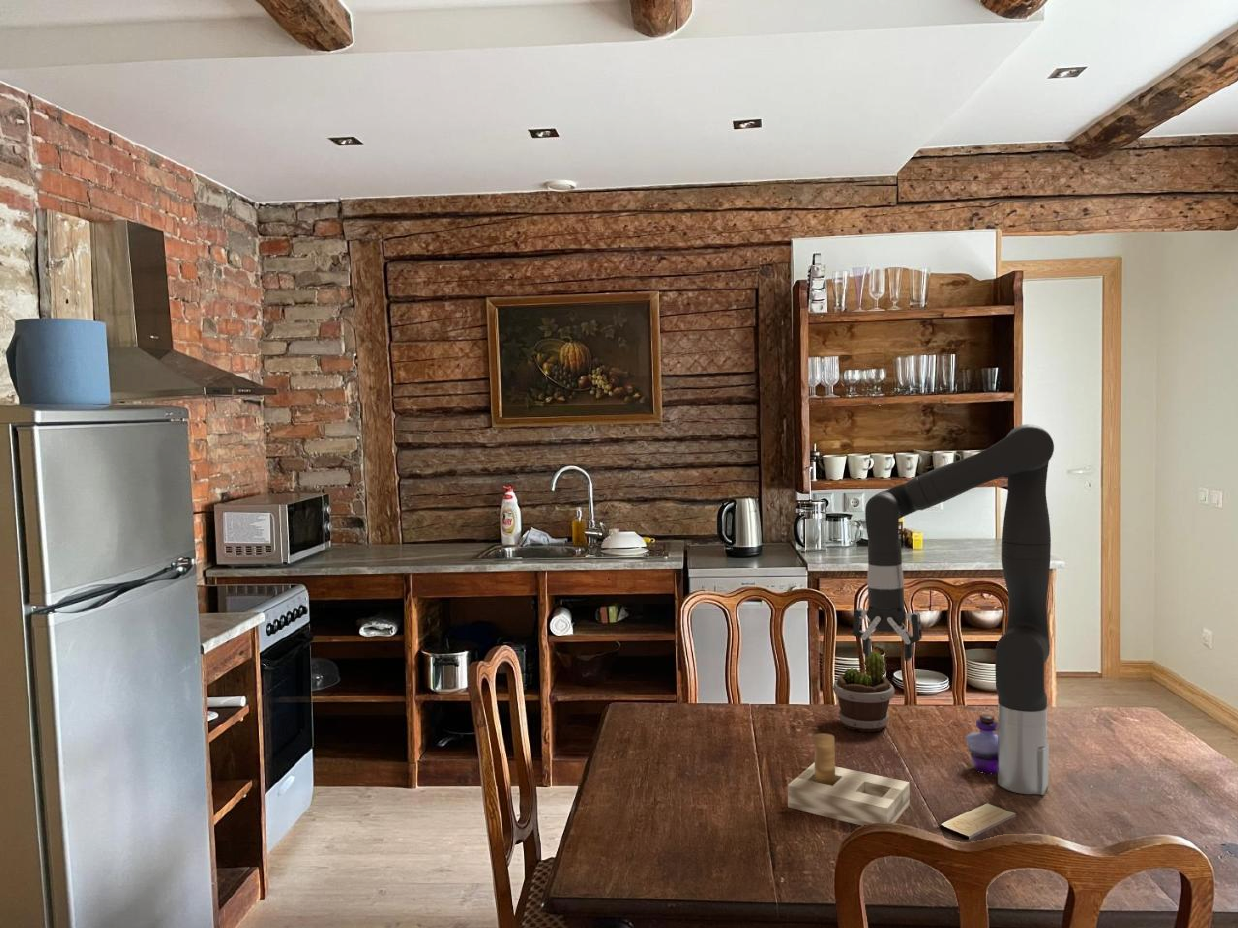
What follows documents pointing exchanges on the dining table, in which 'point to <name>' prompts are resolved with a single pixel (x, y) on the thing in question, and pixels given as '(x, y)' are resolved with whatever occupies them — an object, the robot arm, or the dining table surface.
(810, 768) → the hole block
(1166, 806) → the dining table surface
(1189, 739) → the dining table surface
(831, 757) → the peg
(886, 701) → the flowerpot
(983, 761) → the potion bottle
